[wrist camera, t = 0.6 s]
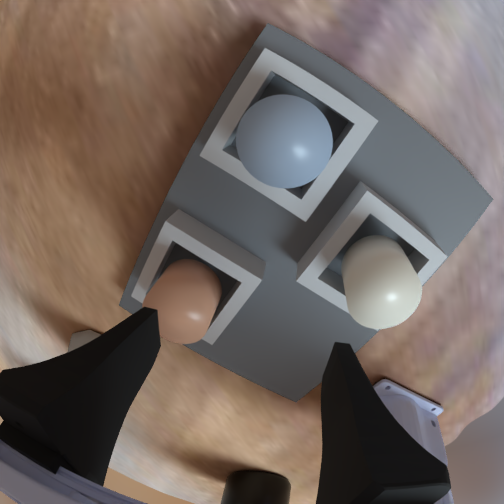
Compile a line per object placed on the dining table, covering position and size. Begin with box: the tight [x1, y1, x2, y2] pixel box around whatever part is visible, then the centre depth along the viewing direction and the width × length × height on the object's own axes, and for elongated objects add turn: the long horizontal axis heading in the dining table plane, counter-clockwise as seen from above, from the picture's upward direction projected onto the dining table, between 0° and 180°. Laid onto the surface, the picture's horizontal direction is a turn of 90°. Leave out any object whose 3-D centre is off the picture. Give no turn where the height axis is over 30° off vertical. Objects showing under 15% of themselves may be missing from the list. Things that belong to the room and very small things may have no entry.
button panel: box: [119, 23, 493, 402], centre depth 18 cm, size 16×21×4 cm
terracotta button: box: [142, 259, 222, 344], centre depth 17 cm, size 4×4×3 cm
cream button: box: [341, 235, 422, 329], centre depth 15 cm, size 4×4×3 cm
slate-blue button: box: [236, 95, 333, 188], centre depth 13 cm, size 4×4×3 cm
